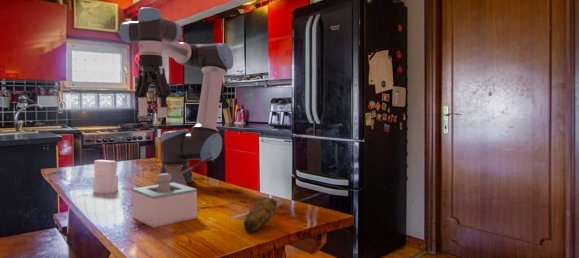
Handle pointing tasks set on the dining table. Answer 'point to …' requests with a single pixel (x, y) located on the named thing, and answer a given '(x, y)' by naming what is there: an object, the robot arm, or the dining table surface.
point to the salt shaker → (163, 182)
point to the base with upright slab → (105, 176)
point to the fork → (248, 212)
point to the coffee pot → (178, 175)
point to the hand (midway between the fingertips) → (152, 116)
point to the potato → (260, 214)
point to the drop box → (164, 204)
